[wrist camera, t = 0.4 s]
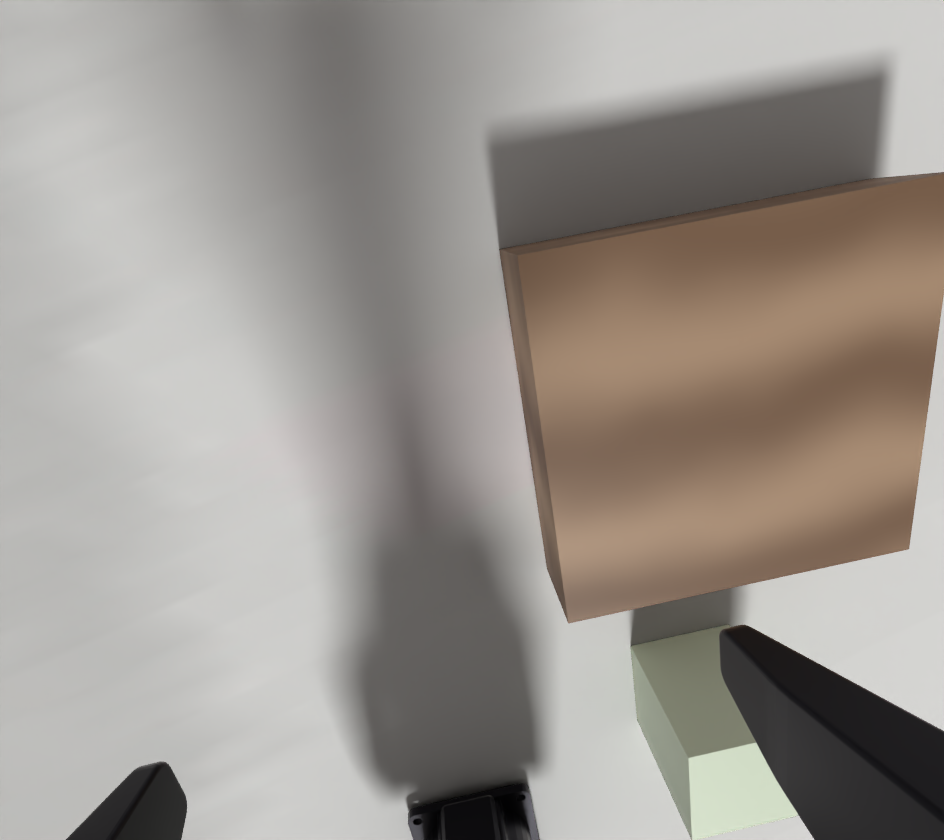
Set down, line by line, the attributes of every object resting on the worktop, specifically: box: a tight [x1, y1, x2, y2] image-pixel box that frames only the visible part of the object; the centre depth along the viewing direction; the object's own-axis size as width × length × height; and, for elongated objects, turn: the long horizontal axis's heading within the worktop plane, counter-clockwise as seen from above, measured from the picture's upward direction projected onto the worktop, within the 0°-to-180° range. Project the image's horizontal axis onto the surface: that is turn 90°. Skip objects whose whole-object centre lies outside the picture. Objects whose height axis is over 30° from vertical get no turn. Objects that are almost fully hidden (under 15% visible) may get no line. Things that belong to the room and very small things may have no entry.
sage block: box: [631, 624, 799, 840], centre depth 25 cm, size 5×5×6 cm
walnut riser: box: [499, 172, 944, 623], centre depth 21 cm, size 14×14×4 cm
